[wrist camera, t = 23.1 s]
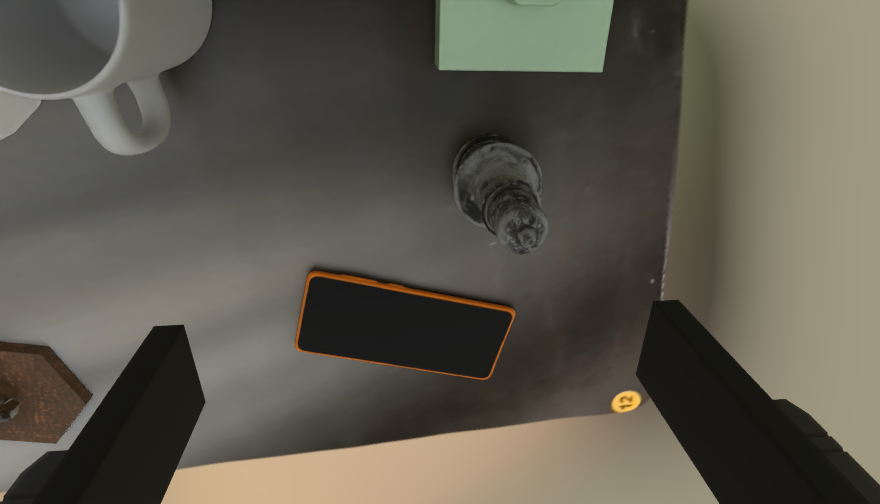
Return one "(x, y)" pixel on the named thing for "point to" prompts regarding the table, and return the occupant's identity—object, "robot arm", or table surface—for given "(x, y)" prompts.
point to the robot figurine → (37, 394)
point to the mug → (101, 58)
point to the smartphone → (400, 326)
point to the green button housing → (522, 35)
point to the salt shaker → (501, 191)
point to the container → (14, 112)
